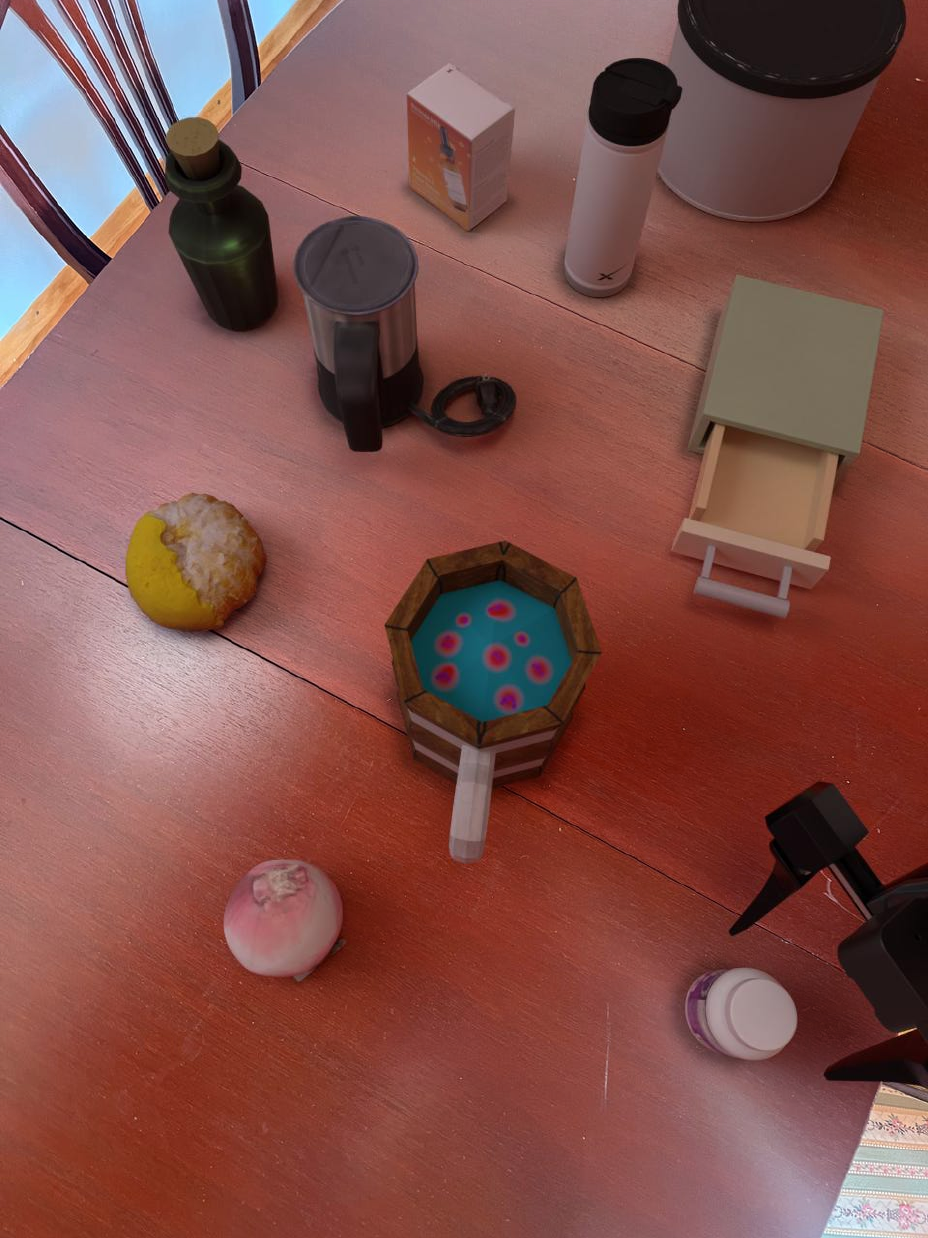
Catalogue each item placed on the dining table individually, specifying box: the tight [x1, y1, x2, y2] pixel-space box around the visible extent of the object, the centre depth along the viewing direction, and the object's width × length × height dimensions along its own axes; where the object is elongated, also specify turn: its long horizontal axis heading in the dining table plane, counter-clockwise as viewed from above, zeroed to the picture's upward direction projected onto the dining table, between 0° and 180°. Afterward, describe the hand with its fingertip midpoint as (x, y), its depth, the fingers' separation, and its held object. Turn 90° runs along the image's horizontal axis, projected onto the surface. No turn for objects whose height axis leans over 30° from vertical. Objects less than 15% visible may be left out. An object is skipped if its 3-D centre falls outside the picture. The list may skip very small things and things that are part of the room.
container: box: [657, 0, 907, 223], centre depth 87 cm, size 19×19×15 cm
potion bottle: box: [164, 116, 279, 331], centre depth 78 cm, size 8×8×18 cm
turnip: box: [223, 859, 347, 983], centre depth 63 cm, size 8×8×7 cm
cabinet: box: [686, 274, 885, 489], centre depth 81 cm, size 15×13×6 cm
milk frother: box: [292, 215, 517, 453], centre depth 76 cm, size 14×16×15 cm
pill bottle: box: [684, 967, 798, 1062], centre depth 61 cm, size 5×5×10 cm
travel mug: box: [563, 57, 682, 298], centre depth 79 cm, size 6×7×20 cm
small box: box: [406, 62, 516, 232], centre depth 86 cm, size 8×6×10 cm
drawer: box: [671, 421, 839, 620], centre depth 76 cm, size 18×11×4 cm, turn 163°
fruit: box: [125, 492, 268, 633], centre depth 74 cm, size 11×10×8 cm
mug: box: [383, 540, 603, 865], centre depth 65 cm, size 20×14×15 cm
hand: (778, 1001), depth 57 cm, fingers open, 9 cm apart
